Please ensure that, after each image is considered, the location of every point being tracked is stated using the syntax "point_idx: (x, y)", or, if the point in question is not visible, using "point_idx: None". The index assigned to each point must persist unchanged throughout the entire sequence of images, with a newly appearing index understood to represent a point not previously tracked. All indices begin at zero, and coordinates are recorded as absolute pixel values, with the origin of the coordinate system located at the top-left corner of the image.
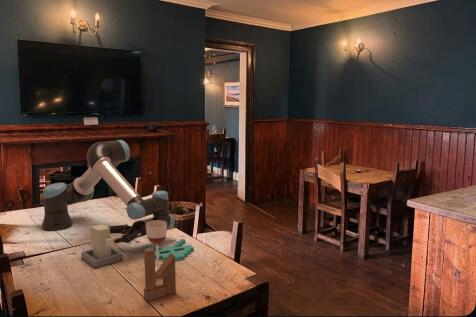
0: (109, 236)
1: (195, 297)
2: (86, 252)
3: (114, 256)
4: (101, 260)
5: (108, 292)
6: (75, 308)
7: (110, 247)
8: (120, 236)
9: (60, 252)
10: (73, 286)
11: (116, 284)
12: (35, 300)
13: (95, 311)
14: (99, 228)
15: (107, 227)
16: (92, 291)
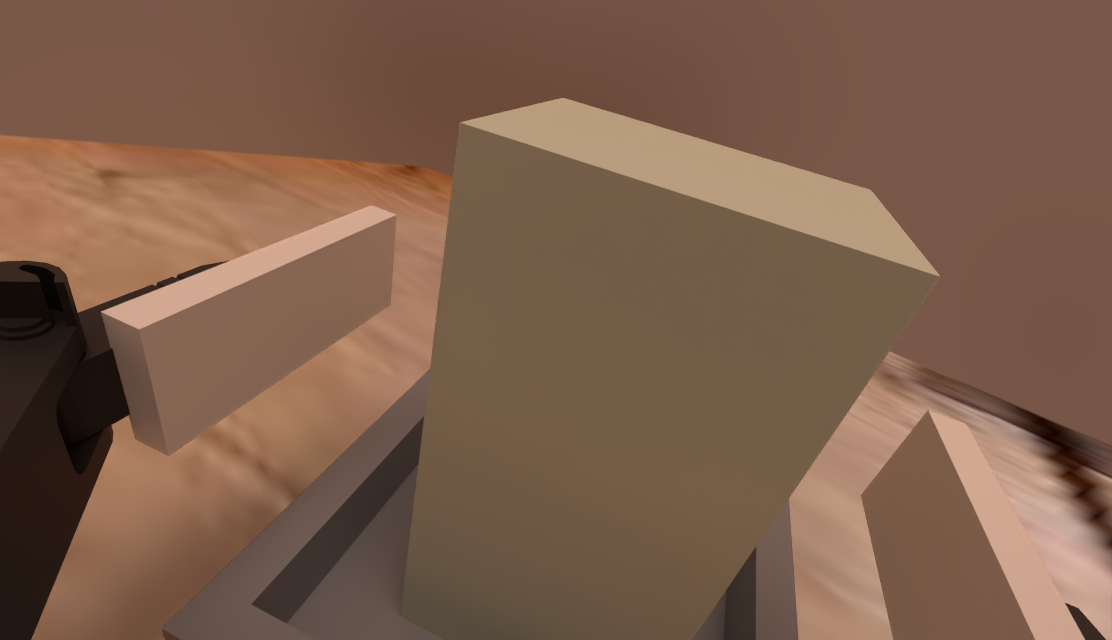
0: (445, 319)
1: None
2: None
3: (296, 501)
4: (409, 392)
5: (153, 217)
6: (278, 165)
7: (417, 492)
8: (124, 305)
9: (1076, 604)
10: (413, 251)
11: (117, 266)
12: None
13: (170, 150)
14: (646, 134)
15: (543, 141)
16: (267, 224)
